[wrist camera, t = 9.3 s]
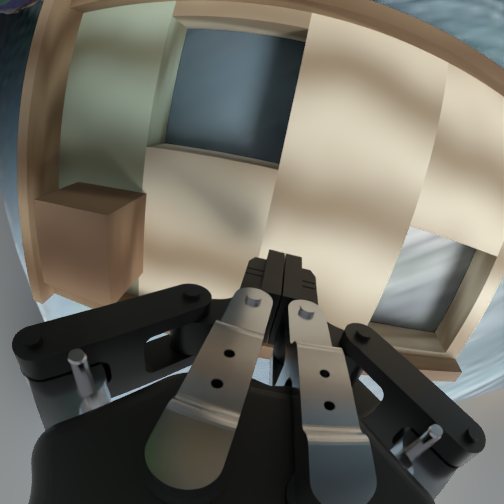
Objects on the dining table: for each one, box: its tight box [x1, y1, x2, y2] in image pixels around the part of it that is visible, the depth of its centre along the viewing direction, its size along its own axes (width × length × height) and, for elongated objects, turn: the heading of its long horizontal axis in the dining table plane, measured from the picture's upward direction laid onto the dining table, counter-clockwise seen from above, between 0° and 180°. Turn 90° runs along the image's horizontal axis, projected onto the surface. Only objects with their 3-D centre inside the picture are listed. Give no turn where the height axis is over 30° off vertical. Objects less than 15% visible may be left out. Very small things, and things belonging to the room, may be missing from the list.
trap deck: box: [17, 0, 504, 382], centre depth 14 cm, size 20×31×6 cm, turn 79°
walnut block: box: [34, 182, 147, 306], centre depth 15 cm, size 5×5×4 cm
